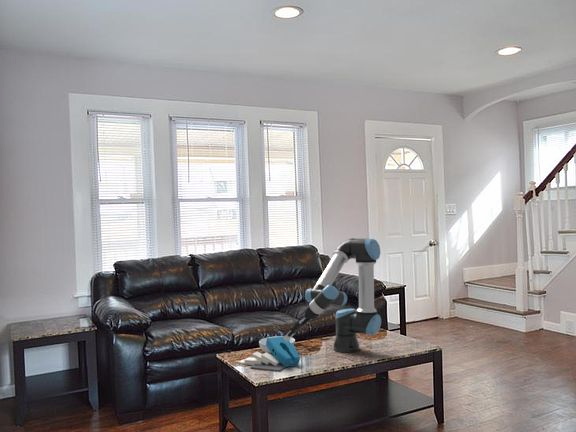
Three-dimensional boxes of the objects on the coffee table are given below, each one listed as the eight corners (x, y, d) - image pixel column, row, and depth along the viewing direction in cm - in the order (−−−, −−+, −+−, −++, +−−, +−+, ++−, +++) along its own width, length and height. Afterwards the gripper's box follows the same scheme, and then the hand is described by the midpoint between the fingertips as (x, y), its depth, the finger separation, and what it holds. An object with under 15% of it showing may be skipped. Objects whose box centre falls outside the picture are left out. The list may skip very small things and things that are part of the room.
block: (301, 364, 272) (284, 344, 289) (303, 356, 271) (286, 336, 287) (281, 367, 266) (265, 345, 283) (283, 358, 265) (267, 337, 281)
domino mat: (292, 362, 276) (292, 361, 276) (279, 371, 261) (279, 370, 261) (263, 359, 283) (263, 358, 283) (250, 368, 268) (250, 366, 268)
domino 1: (259, 361, 278) (242, 359, 282) (254, 363, 273) (238, 362, 277) (259, 364, 278) (243, 362, 282) (254, 366, 273) (238, 364, 278)
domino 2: (265, 358, 276) (248, 357, 280) (261, 361, 272) (244, 359, 276) (265, 361, 276) (248, 360, 280) (261, 364, 272) (244, 362, 276)
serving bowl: (275, 345, 312) (274, 334, 312) (302, 350, 299) (302, 339, 299) (251, 353, 296) (251, 341, 296) (279, 359, 283) (279, 347, 283)
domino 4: (281, 360, 272) (266, 352, 277) (276, 363, 268) (261, 354, 273) (280, 363, 273) (265, 354, 277) (276, 366, 268) (260, 357, 273)
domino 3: (272, 359, 275) (256, 351, 279) (268, 362, 270) (252, 353, 274) (271, 362, 275) (256, 353, 279) (267, 364, 270) (251, 356, 274)
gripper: (314, 317, 255) (285, 348, 262) (323, 312, 267) (295, 341, 273) (304, 306, 257) (275, 337, 264) (313, 301, 269) (285, 331, 275)
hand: (285, 339), depth 268 cm, fingers closed
